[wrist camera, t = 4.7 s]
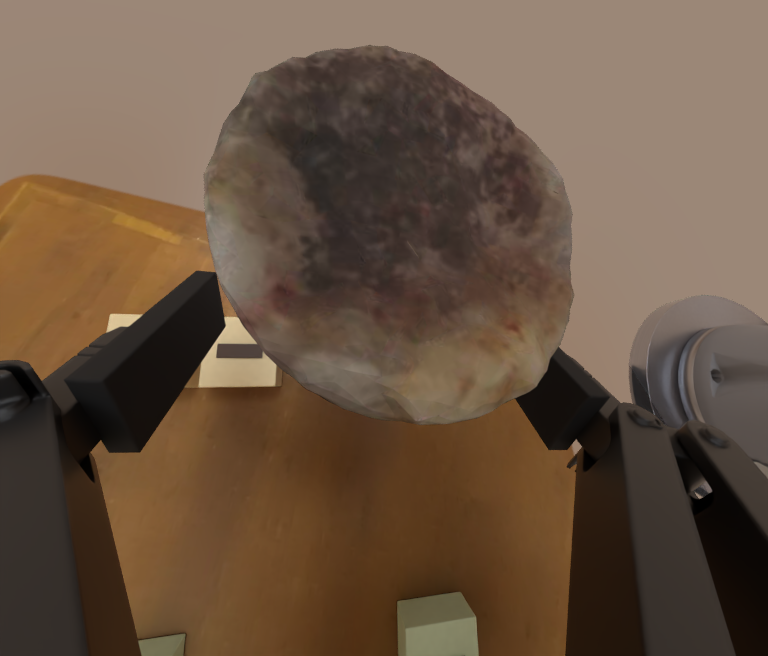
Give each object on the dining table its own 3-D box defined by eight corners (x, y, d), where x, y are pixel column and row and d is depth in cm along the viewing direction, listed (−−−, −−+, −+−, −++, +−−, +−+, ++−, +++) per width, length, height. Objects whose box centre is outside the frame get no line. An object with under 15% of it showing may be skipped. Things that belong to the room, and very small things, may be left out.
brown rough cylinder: (347, 295, 25) (396, -31, 5) (411, 348, 25) (688, 208, 5) (286, 363, 23) (19, 222, 3) (357, 420, 23) (490, 605, 3)
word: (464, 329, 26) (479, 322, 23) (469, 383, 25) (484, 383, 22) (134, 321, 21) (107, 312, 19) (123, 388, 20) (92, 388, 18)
